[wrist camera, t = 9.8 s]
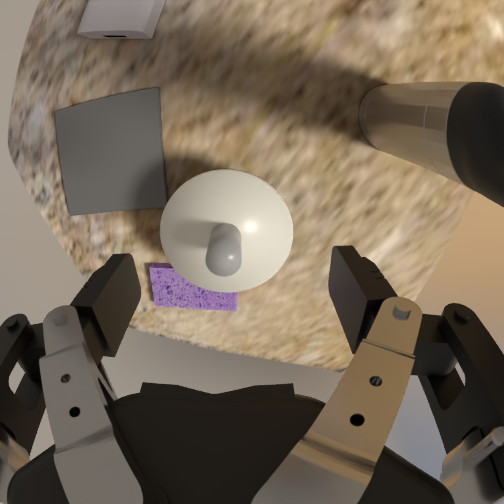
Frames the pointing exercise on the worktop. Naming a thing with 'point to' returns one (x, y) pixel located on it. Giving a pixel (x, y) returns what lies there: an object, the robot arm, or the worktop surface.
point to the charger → (120, 19)
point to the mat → (113, 153)
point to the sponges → (186, 291)
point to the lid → (226, 230)
